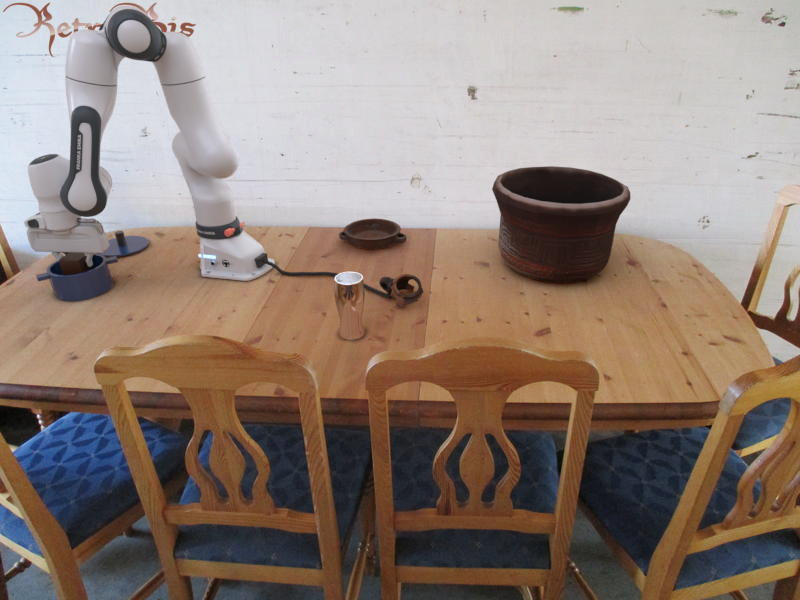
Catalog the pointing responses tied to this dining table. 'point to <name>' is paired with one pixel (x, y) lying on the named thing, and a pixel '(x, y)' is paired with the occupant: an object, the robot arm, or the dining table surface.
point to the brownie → (74, 263)
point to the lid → (125, 245)
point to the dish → (373, 233)
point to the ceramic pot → (558, 221)
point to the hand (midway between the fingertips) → (77, 265)
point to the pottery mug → (402, 288)
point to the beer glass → (350, 304)
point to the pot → (80, 280)
